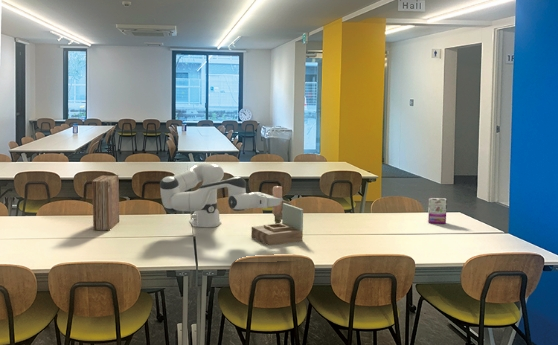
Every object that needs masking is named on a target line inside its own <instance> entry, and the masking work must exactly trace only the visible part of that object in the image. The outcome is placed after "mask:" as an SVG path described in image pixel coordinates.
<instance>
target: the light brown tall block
mask: <svg viewBox="0 0 558 345" xmlns="http://www.w3.org/2000/svg"><path fill="white" fill-rule="evenodd" d="M272 188H273V195H272V196H274V197H277V198H280V197H281V198H282V199H283V186H280V185H279V186H278V185H275V186H273V187H272ZM272 211H273V212H282V201H280V205H278V206H272Z"/></svg>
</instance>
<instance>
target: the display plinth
mask: <svg viewBox="0 0 558 345" xmlns="http://www.w3.org/2000/svg"><path fill="white" fill-rule="evenodd" d="M303 229H304V209H303V208H299V207H297V206H294V205H292V204H291V205H289V204H286V203H283V209H282V220H281V222H280V223H277V224H275V223H270V224H269V223H268V224H263V225H254V226H251V236H250V237H251V238H252V239H255V240H256V241H259V242H260V243H263V244H265V245H267V246H273V245H280V244H289V243H290V244H291V243H296V242H297V243H298V242H303V234H304V233H303Z"/></svg>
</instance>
